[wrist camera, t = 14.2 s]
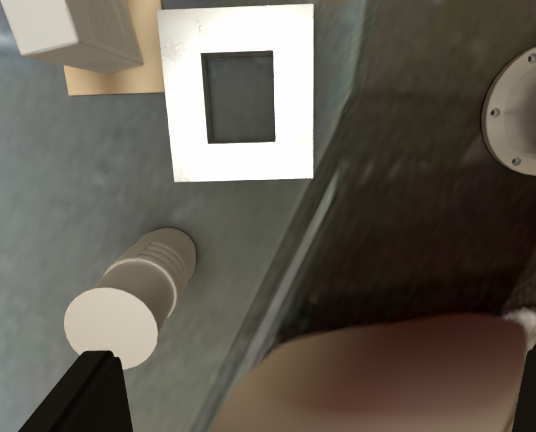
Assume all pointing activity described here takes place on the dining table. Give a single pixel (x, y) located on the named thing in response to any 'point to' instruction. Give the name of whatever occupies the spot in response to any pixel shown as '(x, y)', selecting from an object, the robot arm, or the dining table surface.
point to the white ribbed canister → (133, 298)
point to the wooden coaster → (133, 79)
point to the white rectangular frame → (197, 90)
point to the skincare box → (75, 33)
